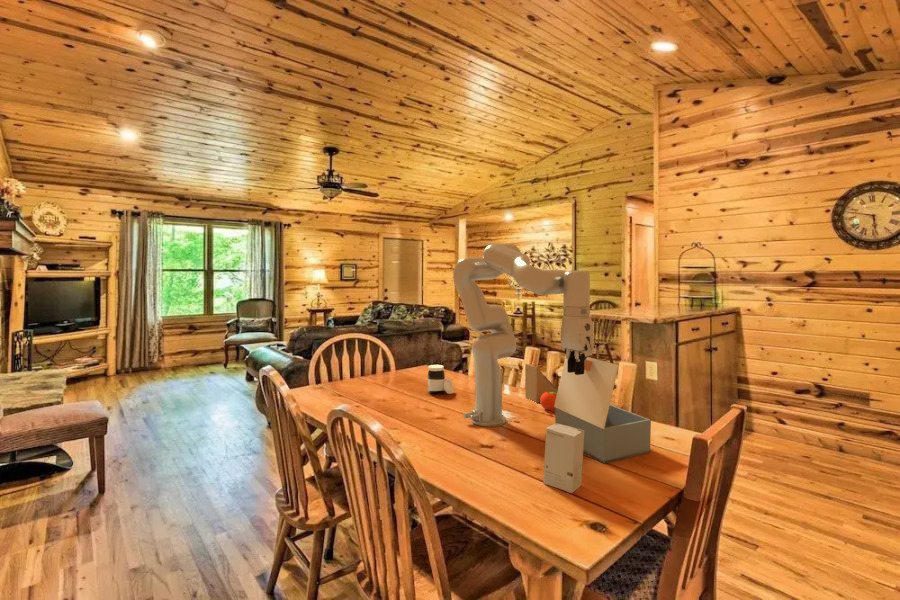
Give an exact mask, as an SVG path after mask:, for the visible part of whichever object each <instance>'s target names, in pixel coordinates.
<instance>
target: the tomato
mask: <svg viewBox="0 0 900 600" xmlns="http://www.w3.org/2000/svg"><path fill="white" fill-rule="evenodd" d="M555 394H557V393H555ZM555 394H554V392H545V393H544V394H542V396H541V398H540V403H539V404H540V405H541V407H542V408H543V409H545V410H548V411H551V410H555V407H554V405H555V400H556V395H555Z"/></svg>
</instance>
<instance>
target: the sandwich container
mask: <svg viewBox="0 0 900 600" xmlns="http://www.w3.org/2000/svg"><path fill="white" fill-rule="evenodd" d="M524 367H525V369H524V370H525V371H524V376H525V379H524V380H525V381H524V382H525V383H524V384H525V385H524V386H525V388H524V389H525V395H524V396H525V399H527V400H529V399H530V400H529V401H531V400H532V401H531V402H533V401H534V402H533V403H535V402H536V404H539V403H538V402H540V398H541V396H542V394H544V393H545V392H554V394H555V393H557V392H558V388H557V387H556V386H555V385H554V384H553V383H552V382H551V381H550V380H549V379H548V378H547V377H546V375H544V373H543V372H542V371H541V370H540V369H539V368H538V367H537V366H534V365H532V364H530V363H529V364H528V363H525V364H524ZM555 395H556V396H557V394H555Z"/></svg>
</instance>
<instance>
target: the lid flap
mask: <svg viewBox="0 0 900 600" xmlns="http://www.w3.org/2000/svg"><path fill="white" fill-rule="evenodd" d="M575 359H576V358H575ZM618 370H619V364H616V363H613V362H609V361H605V360H600V359H596V358H593V357H591V356H588V357H587V358H586V361H584V374H581V375H575V372H572V373H569V372H568V359H567V358H566V356H565V358H564V362H563V365H562V370H561V375H560V380H559V384H558V388H557V389H558V392H557V396H556V400H555V405H554V407H556V408H558V409H560V410H562V411H564V412H567V413H569V414H571V415H573V416H575V417H578V418H580V419H582V420H584V421H587V422H589V423H591V424H593V425H595V426H598V427H600V428H602V429H604V428H605V423H606V419H607V414H608V410H609V406H610V405H611V401H612V396H613V392H614V388H615V384H616V383H615V382H616V378H617V375H618Z"/></svg>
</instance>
